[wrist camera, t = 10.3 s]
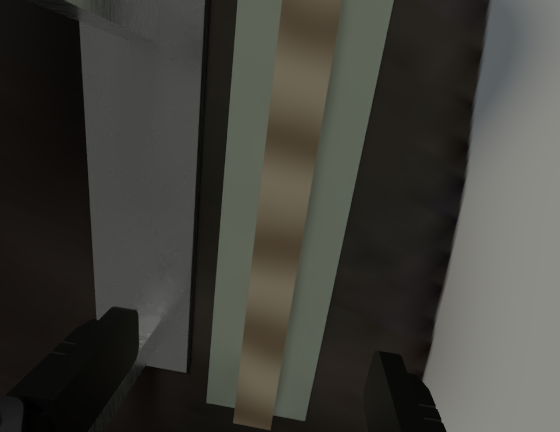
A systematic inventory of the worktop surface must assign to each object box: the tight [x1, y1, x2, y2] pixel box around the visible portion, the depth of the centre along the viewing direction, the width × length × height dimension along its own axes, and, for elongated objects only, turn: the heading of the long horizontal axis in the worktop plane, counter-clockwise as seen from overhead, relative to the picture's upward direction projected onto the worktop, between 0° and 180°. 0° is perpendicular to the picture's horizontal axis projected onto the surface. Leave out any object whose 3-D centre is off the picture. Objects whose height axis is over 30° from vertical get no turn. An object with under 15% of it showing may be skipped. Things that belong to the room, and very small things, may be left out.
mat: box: [206, 0, 394, 421], centre depth 24 cm, size 36×9×1 cm, turn 172°
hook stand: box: [26, 0, 210, 432], centre depth 17 cm, size 30×8×15 cm, turn 172°
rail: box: [233, 0, 342, 430], centre depth 22 cm, size 32×3×3 cm, turn 172°
